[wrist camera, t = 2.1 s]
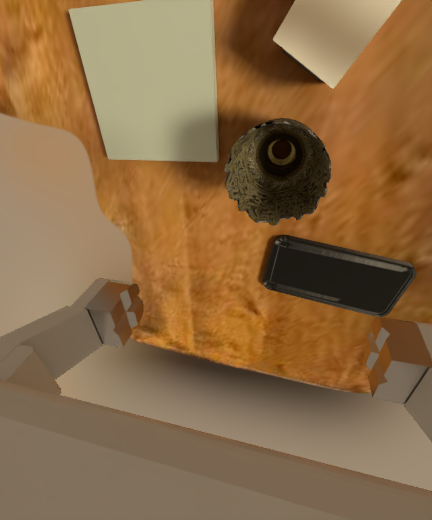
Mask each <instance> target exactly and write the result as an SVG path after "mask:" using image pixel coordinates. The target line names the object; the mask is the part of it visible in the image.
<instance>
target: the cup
mask: <svg viewBox="0 0 432 520" xmlns="http://www.w3.org/2000/svg"><path fill="white" fill-rule="evenodd" d="M278 141H286V142H288V143H289V144H290V147H291V152H290V154H289V155H288V156H287V157H286V158H284V159H279V158H277V157H275V156H274V154H273V147H274V145H275V144H276V143H277V142H278ZM330 167H331V161H330V158H329V155H328V153H327V151H326V150H325V145H324V143H323V142H322V141H321V140H320V139H319V138H318V137H317V135H316V134H315V133H314V132H313V131H312V130H311V129H310V128H308V127H307V126H306V125H304V124H302V123H301V122H298V121H296V120H292V119H287V118H280V119H273V120H269V121H266V122H264V123H262V124H260V125H258V126H256V127H253V128H251V129H250V130H248V131H247V132H246V133H245V134H244V135H243V136H242V137H241V138H239V139H238V140H237V141H236V142H235V143H234V145H233V146H232V148H231V150H230V152H229V160H228V162H227V163H226V164H225V167H224V171H226V172H228V174H227V176H226V179H225V187H226V189H227V190H228V192H229V198H231V199H234V201H238V208H239V211H240V212H241V211H244V210H245V211H246V212H247V213H248V215H249V217H250V218H251V219H252V220H254V221H255V222H256V223H262V222H264V223H266V222H269V224H270V225H277V224H279V221H280V220H281V219H284V218H285V219H289V218H291V217H294V218H296V220H300V219H301V218H302V217H303V214H312V213H313V212H314V211H315V210H316V208H317V205H318V202H319V199H320V198H321V197H325V196H326V192H327V187H326V183H327V182H329V180H330V178H331V168H330Z"/></svg>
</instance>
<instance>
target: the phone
mask: <svg viewBox="0 0 432 520" xmlns="http://www.w3.org/2000/svg"><path fill="white" fill-rule="evenodd" d="M415 277H416V270H415V268H414V266H413V265H412V264H411V263H408V262H404V261H400V260H395V259H391V258H386V257H382V256H378V255H373V254H369V253H364V252H360V251H355V250H351V249H346V248H342V247H338V246H333V245H329V244H324V243H320V242H315V241H311V240H306V239H302V238H298V237H293V236H289V235H280V236H278V237H277V238H276V239H275V241H274V244H273V247H272V251H271V254H270V258H269V261H268V265H267V268H266V272H265V275H264V280H263V284H264V286H265V287H266V288H267V289H269V290H273V291H277V292H281V293H285V294H289V295H293V296H297V297H301V298H305V299H308V300H312V301H316V302H320V303H324V304H328V305H332V306H336V307H340V308H344V309H348V310H352V311H356V312H360V313H364V314H368V315H372V316H376V317H382V316H385V315H387V314H389V313H390V311H391V310H392V309H393V307H394V306H395V304H396V303H397V302H398V300H399V299H400V298H401V296H402V295H403V293H404V292H405V291H406V289H407V288H408V287H409V285H410V284H411V282H412V281H413V280H414V278H415Z"/></svg>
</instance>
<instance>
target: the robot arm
mask: <svg viewBox="0 0 432 520" xmlns="http://www.w3.org/2000/svg"><path fill="white" fill-rule="evenodd" d="M139 292H140V290H139V287H138V285H137V284H135V283H129V282H123V281H117V280H109V279H103V278H99V279H97V280H95V281H94V282H93V284H92V285H91V286H90V287H89V288H88V289H87V290H86V291H85V292H84V293H83V294H82V295H81V296H80V297H79V298H78V299H77V300H76V302H75V303H74V304H73V305H72V306H66V307H64V308H62V309H60V310H57V311H55V312H53V313H51V314H49V315H47V316H44V317H42V318H40V319H38V320H36V321H34V322H32V323H30V324H27V325H25V326H23V327H21V328H19V329H16V330H14V331H12V332H10V333H8V334H6V335H4V336H1V337H0V520H432V491H430V490H426V489H422V488H418V487H414V486H410V485H406V484H402V483H398V482H395V481H391V480H387V479H383V478H379V477H375V476H372V475H368V474H363V473H360V472H356V471H352V470H348V469H344V468H341V467H337V466H332V465H328V464H325V463H321V462H317V461H314V460H309V459H306V458H302V457H298V456H294V455H290V454H286V453H282V452H278V451H275V450H271V449H267V448H263V447H259V446H256V445H252V444H247V443H244V442H240V441H236V440H232V439H228V438H225V437H221V436H217V435H213V434H209V433H205V432H201V431H198V430H194V429H190V428H186V427H182V426H178V425H174V424H170V423H166V422H163V421H159V420H155V419H151V418H147V417H143V416H139V415H136V414H132V413H128V412H124V411H120V410H116V409H112V408H108V407H104V406H101V405H97V404H93V403H89V402H85V401H81V400H77V399H73V398H69V397H66V396H61V395H60V394H61V388H60V387H59V386H58V384H57V383H56V381H55V379H57V378H58V377H60V376H61V375H62V374H64V373H65V372H66V371H68V370H69V369H71V368H72V367H73V366H75V365H76V364H78V363H79V362H80V361H82V360H83V359H84V358H86V357H87V356H89V355H90V354H91V353H93V352H94V351H96V350H97V349H98V348H100V347H101V346H102V344H104V345H110V346H116V347H122V348H123V347H124V346H125V344H126V343H127V341H128V339H129V337H130V336H131V335H132V329H131V328H133V327H134V326H136V325H138V323H139V322H140V320H141V318H142V315H143V311H144V310H143V301H142V300H141V299H140V298H139V296H138V294H139ZM371 326H372V331H373V332H372V333H370V334H368V335H367V337H366V340H365V345H364V359H365V364H366V365H367V366H368V368H369V369H370V370H371V372H370V374H369V377H368V379H369V384H370V388H371V393H372V397H373V398H376V399H381V400H386V401H390V402H394V403H399V404H403V405H404V407H405V408H406V409H407V411H408V412H409V413H410V414H411V416H412V417H413V418H414V420H415V421H416V422H417V423H418V425H419V426H420V427H421V429H422V430H423V431H424V432H425V434H426V435H427V436H428V437H429V439H430V440H431V441H432V324H427V323H419V322H411V321H403V320H395V319H388V318H380V317H376V318H375V319H374V320H373V322H372V325H371Z"/></svg>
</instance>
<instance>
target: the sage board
mask: <svg viewBox="0 0 432 520" xmlns="http://www.w3.org/2000/svg"><path fill="white" fill-rule="evenodd" d="M68 10H69V14H70V18H71V21H72V25H73V29H74V33H75V36H76V40H77V44H78V48H79V51H80V55H81V59H82V63H83V66H84V70H85V74H86V78H87V81H88V85H89V89H90V93H91V96H92V100H93V104H94V108H95V111H96V115H97V119H98V123H99V126H100V130H101V134H102V138H103V141H104V145H105V149H106V153H107V156H108V159H120V160H156V161H192V162H218V160H219V134H218V108H217V83H216V58H215V32H214V7H213V0H145V1H136V2H127V3H119V4H110V5H101V6H93V7H84V8H75V9H68Z"/></svg>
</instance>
